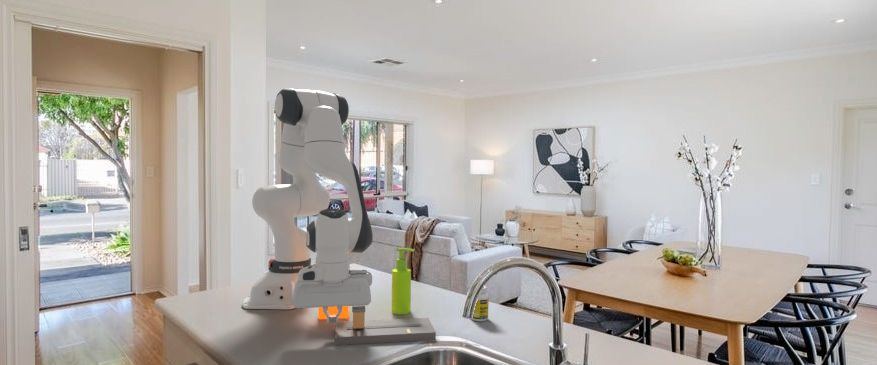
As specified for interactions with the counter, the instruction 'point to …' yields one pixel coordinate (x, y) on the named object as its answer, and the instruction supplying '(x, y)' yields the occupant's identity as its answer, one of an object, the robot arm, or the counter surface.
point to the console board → (385, 331)
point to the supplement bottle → (481, 306)
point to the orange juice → (333, 312)
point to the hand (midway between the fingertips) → (332, 322)
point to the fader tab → (358, 316)
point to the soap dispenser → (401, 285)
